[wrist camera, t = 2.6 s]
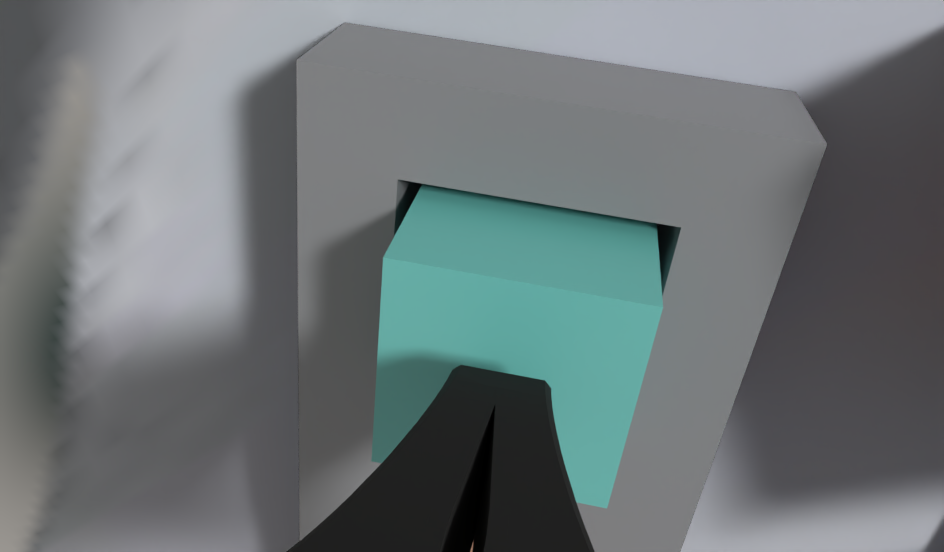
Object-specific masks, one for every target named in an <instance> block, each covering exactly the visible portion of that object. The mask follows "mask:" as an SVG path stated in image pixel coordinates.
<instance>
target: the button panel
mask: <svg viewBox="0 0 944 552" xmlns="http://www.w3.org/2000/svg"><path fill="white" fill-rule="evenodd" d="M296 92H297V246H298V399H299V541H301V540H302V539H303V538H304V537H305V536H306V535H308V534H309V533H310V532H311V531H312V530H313V529H315V528H316V527H317V526H318V525H319V524H320V523H321V522H323V521H324V520H325V519H326V518H327V517H328V516H329V515H330V514H331V513H333V512H334V511H335V510H336V509H337V508H338V507H339V506H340V505H341V504H342V503H343V502H344V501H345V500H346V499H347V498H348V497H349V496H350V495H351V494H352V493H353V492H354V491H355V490H356V489H357V488H358V487H359V486H360V485H361V484H362V483H363V482H364V481H365V480H366V479H367V478H368V477H369V476H370V475H371V474H372V473H373V472H374V471H375V470H376V469H377V468H378V466H379V465H380V464H381V463H377V462H372V461H371V459H372V441H373V424H374V407H375V390H376V372H377V355H378V338H379V320H380V303H381V286H382V269H383V257H384V255H385V253H386V251H387V249H388V247H389V246H390V244H391V242H392V240H393V238H394V236H395V234H396V232H397V231H398V229H399V227H400V225H401V223H402V221H403V219H404V217H405V216H406V214H407V212H408V210H409V208H410V206H411V204H412V202H413V201H414V199H415V197H416V195H417V193H418V191H419V189H420V187H421V186H422V184H428V185H433V186H439V187H445V188H451V189H457V190H463V191H469V192H475V193H481V194H487V195H492V196H498V197H504V198H510V199H516V200H522V201H528V202H534V203H540V204H546V205H551V206H557V207H563V208H569V209H575V210H581V211H587V212H593V213H599V214H604V215H610V216H616V217H622V218H628V219H634V220H640V221H646V222H652V223H658V227H657V235H658V248H659V260H660V273H661V286H662V299H663V310H662V313H661V317H660V320H659V324H658V328H657V331H656V335H655V338H654V342H653V346H652V349H651V353H650V356H649V360H648V364H647V367H646V371H645V374H644V378H643V381H642V385H641V389H640V392H639V396H638V399H637V403H636V407H635V410H634V414H633V417H632V421H631V424H630V428H629V432H628V435H627V439H626V442H625V446H624V450H623V453H622V457H621V460H620V464H619V468H618V471H617V475H616V478H615V482H614V485H613V489H612V493H611V496H610V500H609V503H608V507H607V508H602V507H597V506H592V505H587V504H582V503H577V502H576V503H577V506H578V509H579V511H580V514H581V517H582V520H583V523H584V525H585V528H586V530H587V533H588V536H589V538H590V541H591V543H592V546H593V549H594V551H595V552H680V551H681V548H682V545H683V543H684V540H685V537H686V534H687V531H688V529H689V526H690V523H691V520H692V518H693V515H694V512H695V509H696V507H697V504H698V501H699V498H700V495H701V493H702V490H703V487H704V484H705V482H706V479H707V476H708V473H709V471H710V468H711V465H712V462H713V459H714V457H715V454H716V451H717V448H718V446H719V443H720V440H721V437H722V435H723V432H724V429H725V426H726V423H727V421H728V418H729V415H730V412H731V410H732V407H733V404H734V401H735V399H736V396H737V393H738V390H739V388H740V385H741V382H742V379H743V376H744V374H745V371H746V368H747V365H748V363H749V360H750V357H751V354H752V352H753V349H754V346H755V343H756V340H757V338H758V335H759V332H760V329H761V327H762V324H763V321H764V318H765V316H766V313H767V310H768V307H769V304H770V302H771V299H772V296H773V293H774V291H775V288H776V285H777V282H778V280H779V277H780V274H781V271H782V268H783V266H784V263H785V260H786V257H787V255H788V252H789V249H790V246H791V244H792V241H793V238H794V235H795V232H796V230H797V227H798V224H799V221H800V219H801V216H802V213H803V210H804V208H805V205H806V202H807V199H808V196H809V194H810V191H811V188H812V185H813V183H814V180H815V177H816V174H817V172H818V169H819V166H820V163H821V160H822V158H823V155H824V152H825V149H826V147H827V143H826V141H825V140H824V138H823V136H822V135H821V133H820V131H819V130H818V128H817V126H816V125H815V123H814V121H813V120H812V118H811V116H810V115H809V113H808V111H807V110H806V108H805V106H804V105H803V103H802V101H801V100H800V98H799V96H798V95H797V93H796V92H793V91H787V90H780V89H774V88H767V87H761V86H754V85H748V84H741V83H735V82H728V81H722V80H715V79H709V78H702V77H696V76H689V75H683V74H676V73H670V72H663V71H657V70H650V69H644V68H637V67H631V66H624V65H618V64H611V63H605V62H598V61H592V60H585V59H578V58H572V57H565V56H559V55H552V54H546V53H539V52H533V51H526V50H520V49H513V48H507V47H500V46H494V45H487V44H481V43H474V42H468V41H461V40H455V39H448V38H442V37H435V36H429V35H422V34H416V33H409V32H403V31H396V30H390V29H383V28H377V27H370V26H364V25H357V24H351V23H343V24H342V25H341V26H340V27H338V28H337V29H336V30H334V31H333V32H332V33H331V34H329V35H328V36H327V37H325V38H324V39H323V40H322V41H320V42H319V43H318V44H316V45H315V46H314V47H313V48H311V49H310V50H309V51H307V52H306V53H305V54H304V55H302V56H301V57H300V58H298V59H297V60H296Z"/></svg>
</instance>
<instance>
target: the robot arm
mask: <svg viewBox="0 0 944 552" xmlns="http://www.w3.org/2000/svg"><path fill="white" fill-rule="evenodd" d="M472 543H473V550H472V552H595V551H594V549H593V546H592V543H591V541H590V538H589V536H588V533H587V530H586V528H585V525H584V523H583V520H582V517H581V514H580V511H579V509H578V506H577V503H576V500H575V497H574V493H573V490H572V487H571V484H570V480H569V477H568V474H567V471H566V467H565V464H564V460H563V456H562V453H561V449H560V444H559V440H558V435H557V431H556V426H555V421H554V415H553V408H552V397H551V387H550V386H549V385H548V383H547V382H546V381H545V380H540V379H535V378H530V377H524V376H519V375H514V374H508V373H503V372H498V371H492V370H487V369H481V368H476V367H471V366H465V365H460V366H458V367H456V368H454V369H453V370H452V371H451V373H450V375H449V377H448V379H447V380H446V382H445V384H444V385H443V387H442V388H441V390H440V391H439V393H438V394H437V396H436V397H435V399H434V400H433V401H432V403H431V404H430V406H429V407H428V408H427V410H426V411H425V412H424V413H423V415H422V416H421V417H420V419H419V420H418V421H417V423H416V424H415V425H414V426H413V427H412V429H411V430H410V431H409V432H408V433H407V435H406V436H405V437H404V438H403V439H402V440H401V442H400V443H399V444H398V445H397V446H396V448H395V449H394V450H393V451H392V452H391V454H390V455H389V456H388V457H387V458H386V459H385V460H384V461H383V462H382V463H381V464H380V465H379V466H378V468H377V469H376V470H375V471H374V472H373V473H372V474H371V475H370V476H369V477H368V478H367V479H366V480H365V481H364V482H363V483H362V484H361V485H360V486H359V487H358V488H357V489H356V490H355V491H354V492H353V493H352V494H351V495H350V496H349V497H348V498H347V499H346V500H345V501H344V502H343V503H342V504H341V505H340V506H339V507H338V508H337V509H336V510H335V511H334V512H333V513H331V514H330V515H329V516H328V517H327V518H326V519H325V520H324V521H323V522H321V523H320V524H319V525H318V526H317V527H316V528H315V529H313V530H312V531H311V532H310V533H309V534H308V535H306V536H305V537H304V538H303V539H302V540H301V541H299V542H298V543H297V544H296V545H295V546H293V547H292V548H291V549H289V550H288V551H287V552H470V550H471V547H472Z"/></svg>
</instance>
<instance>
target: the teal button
mask: <svg viewBox="0 0 944 552" xmlns="http://www.w3.org/2000/svg"><path fill="white" fill-rule="evenodd" d="M662 310H663V299H662V286H661V273H660V260H659V248H658V235H657V223H652V222H646V221H640V220H634V219H628V218H622V217H616V216H610V215H604V214H599V213H593V212H587V211H581V210H575V209H569V208H563V207H557V206H551V205H546V204H540V203H534V202H528V201H522V200H516V199H510V198H504V197H498V196H492V195H487V194H481V193H475V192H469V191H463V190H457V189H451V188H445V187H439V186H433V185H428V184H422V186H421V187H420V189H419V191H418V193H417V195H416V197H415V199H414V201H413V202H412V204H411V206H410V208H409V210H408V212H407V214H406V216H405V217H404V219H403V221H402V223H401V225H400V227H399V229H398V231H397V232H396V234H395V236H394V238H393V240H392V242H391V244H390V246H389V247H388V249H387V251H386V253H385V255H384V257H383V269H382V286H381V303H380V320H379V338H378V355H377V372H376V390H375V407H374V424H373V441H372V459H371V461H372V462H377V463H382V462H383V461H384V460H385V459H386V458H387V457H388V456H389V455H390V454H391V452H392V451H393V450H394V449H395V448H396V446H397V445H398V444H399V443H400V442H401V440H402V439H403V438H404V437H405V436H406V435H407V433H408V432H409V431H410V430H411V429H412V427H413V426H414V425H415V424H416V423H417V421H418V420H419V419H420V417H421V416H422V415H423V413H424V412H425V411H426V410H427V408H428V407H429V406H430V404H431V403H432V401H433V400H434V399H435V397H436V396H437V394H438V393H439V391H440V390H441V388H442V387H443V385H444V384H445V382H446V380H447V379H448V377H449V375H450V373H451V371H452V370H453V369H454V368H456V367H458V366H460V365H465V366H471V367H476V368H481V369H487V370H492V371H498V372H503V373H508V374H514V375H519V376H524V377H530V378H535V379H540V380H545V381H546V382H547V383H548V385H549V386H550V387H551V397H552V408H553V415H554V421H555V426H556V431H557V435H558V440H559V444H560V449H561V453H562V456H563V460H564V464H565V467H566V471H567V474H568V477H569V480H570V484H571V487H572V490H573V493H574V497H575V500H576V502H577V503H582V504H587V505H592V506H597V507H602V508H607V507H608V503H609V500H610V496H611V493H612V489H613V485H614V482H615V478H616V475H617V471H618V468H619V464H620V460H621V457H622V453H623V450H624V446H625V442H626V439H627V435H628V432H629V428H630V424H631V421H632V417H633V414H634V410H635V407H636V403H637V399H638V396H639V392H640V389H641V385H642V381H643V378H644V374H645V371H646V367H647V364H648V360H649V356H650V353H651V349H652V346H653V342H654V338H655V335H656V331H657V328H658V324H659V320H660V317H661V313H662Z"/></svg>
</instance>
